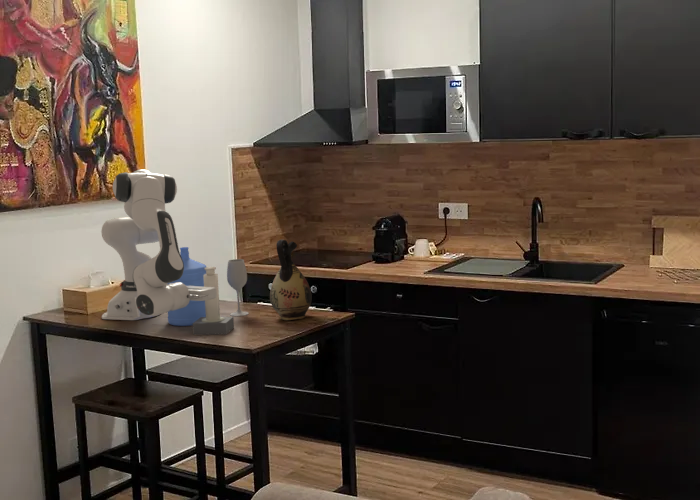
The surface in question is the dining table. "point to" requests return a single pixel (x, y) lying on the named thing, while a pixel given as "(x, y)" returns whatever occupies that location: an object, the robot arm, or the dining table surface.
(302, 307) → the ceramic jug
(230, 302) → the dining table surface
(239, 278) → the wineglass
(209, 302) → the vase
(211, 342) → the dining table surface
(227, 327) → the plinth
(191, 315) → the water jug
